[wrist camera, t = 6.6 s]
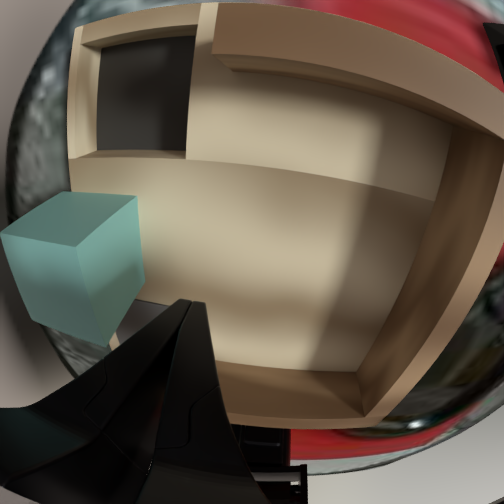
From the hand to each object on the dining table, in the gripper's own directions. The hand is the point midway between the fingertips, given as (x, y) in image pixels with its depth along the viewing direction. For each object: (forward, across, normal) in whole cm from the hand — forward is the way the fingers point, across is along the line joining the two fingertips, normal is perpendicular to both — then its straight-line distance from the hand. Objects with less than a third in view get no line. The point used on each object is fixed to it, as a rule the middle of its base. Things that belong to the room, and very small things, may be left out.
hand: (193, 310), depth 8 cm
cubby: (+4, -5, 0) cm, 7 cm away
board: (+6, -2, 0) cm, 6 cm away
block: (+4, +6, 0) cm, 7 cm away
